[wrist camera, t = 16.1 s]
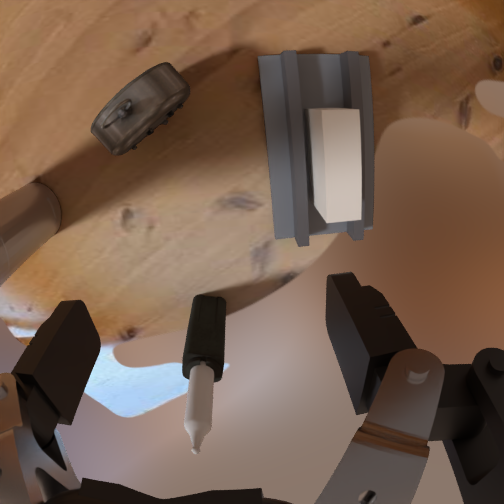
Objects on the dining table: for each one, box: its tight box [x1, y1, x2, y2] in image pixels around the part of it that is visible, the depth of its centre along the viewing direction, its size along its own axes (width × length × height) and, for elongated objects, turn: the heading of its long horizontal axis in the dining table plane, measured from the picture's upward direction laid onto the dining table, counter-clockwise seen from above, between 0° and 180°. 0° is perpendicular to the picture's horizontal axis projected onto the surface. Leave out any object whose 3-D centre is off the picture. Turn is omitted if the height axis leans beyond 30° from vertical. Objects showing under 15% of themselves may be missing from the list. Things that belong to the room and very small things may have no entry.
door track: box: [258, 50, 374, 247], centre depth 36 cm, size 14×24×4 cm, turn 6°
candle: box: [182, 295, 226, 454], centre depth 37 cm, size 5×5×25 cm
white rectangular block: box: [305, 108, 362, 223], centre depth 34 cm, size 4×12×8 cm, turn 6°
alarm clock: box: [91, 62, 190, 155], centre depth 28 cm, size 11×5×16 cm, turn 127°
